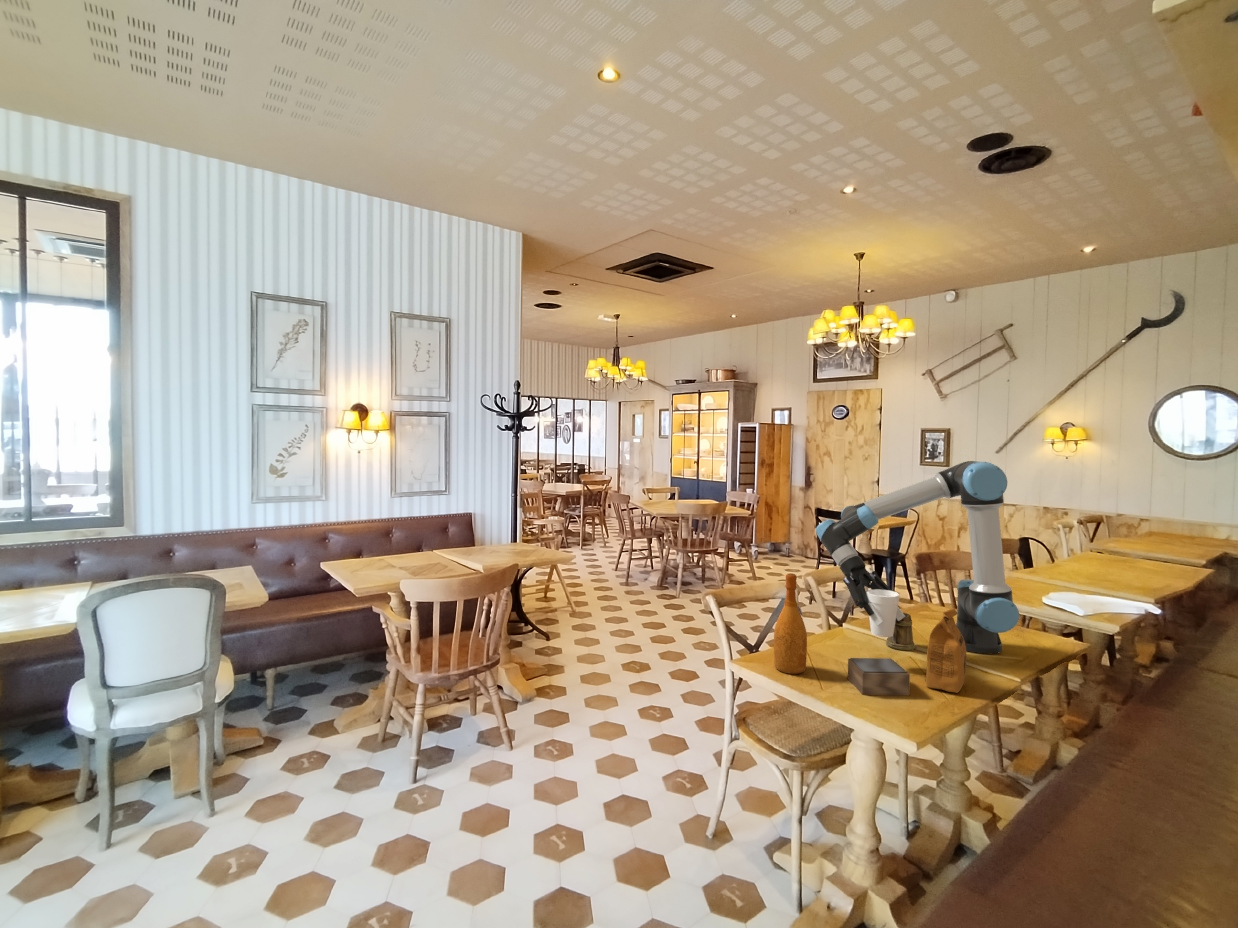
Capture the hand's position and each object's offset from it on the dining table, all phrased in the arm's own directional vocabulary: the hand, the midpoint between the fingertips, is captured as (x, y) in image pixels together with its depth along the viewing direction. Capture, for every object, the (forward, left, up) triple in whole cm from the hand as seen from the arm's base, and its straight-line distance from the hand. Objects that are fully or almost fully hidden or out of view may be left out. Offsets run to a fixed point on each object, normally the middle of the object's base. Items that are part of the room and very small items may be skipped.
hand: (891, 621), depth 178 cm
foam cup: (+2, -3, -5) cm, 6 cm away
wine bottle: (+31, 0, -16) cm, 35 cm away
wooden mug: (-11, -20, -16) cm, 27 cm away
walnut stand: (+9, +12, -15) cm, 22 cm away
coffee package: (-11, +11, -16) cm, 22 cm away
